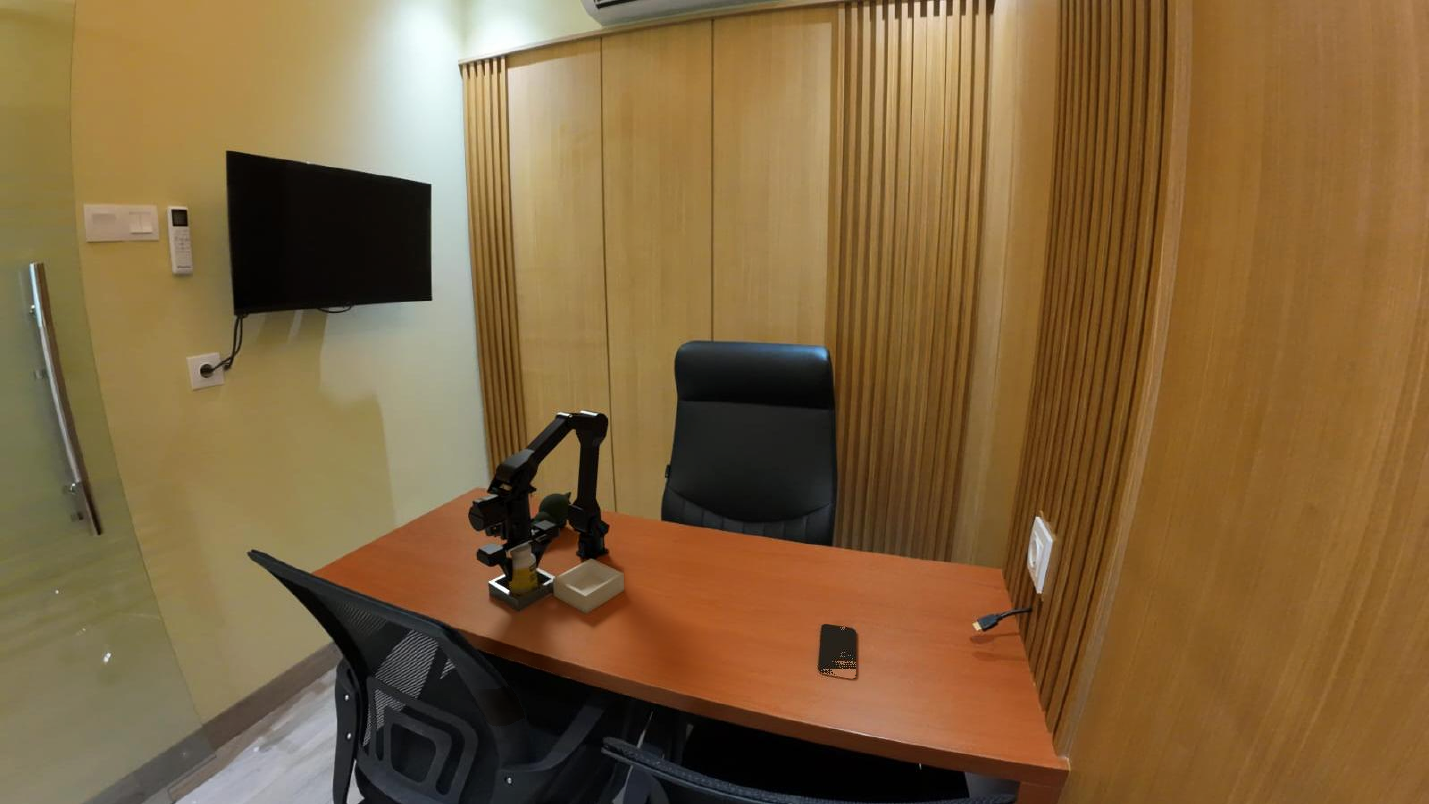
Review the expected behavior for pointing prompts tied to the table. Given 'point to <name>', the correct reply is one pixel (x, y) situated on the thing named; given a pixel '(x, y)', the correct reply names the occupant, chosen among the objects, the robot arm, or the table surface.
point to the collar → (521, 602)
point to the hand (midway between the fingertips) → (522, 574)
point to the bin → (588, 585)
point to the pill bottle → (523, 570)
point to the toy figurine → (553, 509)
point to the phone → (836, 647)
